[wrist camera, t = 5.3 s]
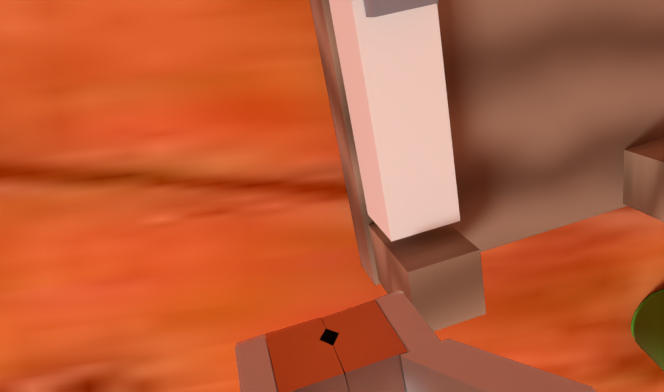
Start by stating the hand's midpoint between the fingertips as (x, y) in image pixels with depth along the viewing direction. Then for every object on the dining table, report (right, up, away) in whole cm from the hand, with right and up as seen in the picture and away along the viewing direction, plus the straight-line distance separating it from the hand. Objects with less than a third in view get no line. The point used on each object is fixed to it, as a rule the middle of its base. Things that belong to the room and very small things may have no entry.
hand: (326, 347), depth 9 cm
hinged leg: (+2, +9, +15) cm, 18 cm away
